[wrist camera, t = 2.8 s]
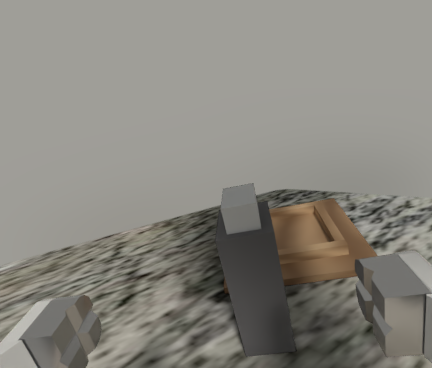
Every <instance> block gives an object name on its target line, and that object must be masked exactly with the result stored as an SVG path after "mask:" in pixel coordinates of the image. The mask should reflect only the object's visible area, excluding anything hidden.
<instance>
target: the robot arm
mask: <svg viewBox="0 0 432 368" xmlns="http://www.w3.org/2000/svg"><path fill="white" fill-rule="evenodd" d="M355 272H356V274H357V276H358V278H359V281H358V282H357V284H356V292H357V298H358V302H359V305H360V308H361V310H362V313H363V315H364V317H365V319H366V320H367V321H369V322H370V323H372V324H373V332H374V336H375V338H376V339H377V341H378V343H379V345H380V347H381V349H382V351H383V352H384V354H385V356H386V357H396V356H414V355H424V357H425V358H426V359H428V360H429V361H430V362H432V265H431V264H430V263H429V262H428V261H427V260H426V259H425V258H424V257H423V256H421V255H420V254H419V253H418V252H417V251H414V250H411V251H405V252H399V253H394V254H390V255H382V256H375V257H368V258H361V259H355ZM92 306H93V304H92V302H91V300H90V298H89V297H88V296H85V295H79V296H70V297H60V298H53V299H44V300H41V301H39V302H37V303H36V304H35V305H34V306H33V307H32V308H31V309H30V310H29V311H28V313H27V314H26V315H25V316H24V317H23V318H22V319H21V320H20V322H19V323H18V324H17V325H16V326H15V327H14V328H13V329H12V330H11V332H10V333H9V334H8V335H7V336H6V337H5V338H4V339H3V340H2V342H0V368H86V366H87V364H88V356H87V355H88V354H90V353H91V352H92V351H93V350H94V349H95V348H96V346H97V344H98V342H99V340H100V336H101V330H102V329H101V322H100V320H99V317H98V315H96V314H95V313H93V312H92V311H91V309H92Z"/></svg>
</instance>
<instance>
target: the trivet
mask: <svg viewBox="0 0 432 368" xmlns="http://www.w3.org/2000/svg"><path fill="white" fill-rule="evenodd" d="M269 211H270V216H271V220H272V224H273V229H274V233H275V239H276V244H277V250H278V255H279V260H280V266H281V271H282V277H283V282H284V286H287V285H295V284H302V283H309V282H317V281H324V280H332V279H339V278H346V277H354V276H357V274H356V272H355V259H361V258H368V257H375V256H377V254H376V253H375V252H374V250H373V249H372V248H371V247H370V245H369V244H368V243H367V241H366V240H365V239H364V237H363V236H362V235H361V233H360V232H359V231H358V230H357V228H356V227H355V226H354V224H353V223H352V222H351V220H350V219H349V218H348V217H347V215H346V214H345V213H344V211H343V210H342V209H341V207H340V206H339V205H338V203H337V202H336V201H335V200H334V198H333V199H327V200H321V201H315V202H310V203H304V204H298V205H292V206H287V207H281V208H275V209H269ZM224 291H225V294H228V293H229V291H228V287H227V283H226V280H225V276H224Z"/></svg>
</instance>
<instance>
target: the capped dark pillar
mask: <svg viewBox="0 0 432 368" xmlns="http://www.w3.org/2000/svg"><path fill="white" fill-rule="evenodd" d="M215 242H216V246H217V250H218V253H219V257H220V261H221V265H222V268H223V272H224V276H225V280H226V283H227V287H228V291H229V294H230V298H231V302H232V306H233V309H234V313H235V317H236V321H237V324H238V328H239V332H240V335H241V339H242V343H243V347H244V350H245V354H246V356H255V355H265V354H275V353H285V352H294V351H296V347H295V342H294V337H293V331H292V326H291V320H290V315H289V309H288V304H287V298H286V293H285V288H284V282H283V277H282V271H281V266H280V260H279V255H278V250H277V244H276V239H275V233H274V229H273V224H272V220H271V216H270V211H269V207H268V203H267V201H265V202H260V203H257V199H256V194H255V189H254V185H253V183H252V184H247V185H241V186H236V187H230V188H225V189H223V194H222V202H221V210H219V216H218V223H217V231H216V239H215Z"/></svg>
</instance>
